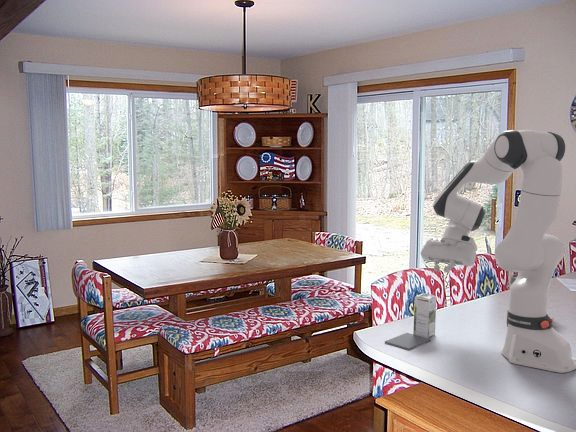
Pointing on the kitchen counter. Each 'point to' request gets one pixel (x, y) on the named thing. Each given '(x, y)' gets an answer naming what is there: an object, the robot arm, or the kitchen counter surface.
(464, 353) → the kitchen counter surface
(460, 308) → the kitchen counter surface
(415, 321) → the syrup box
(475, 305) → the kitchen counter surface
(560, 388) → the kitchen counter surface
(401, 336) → the mat
